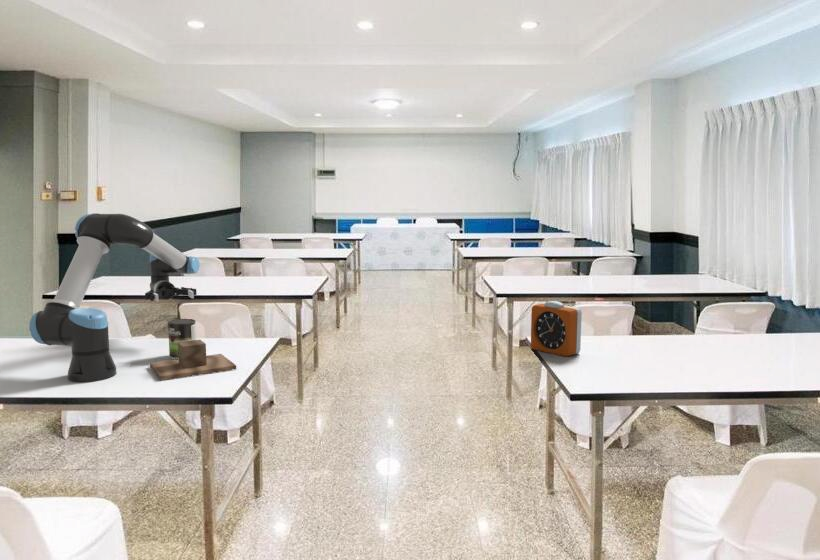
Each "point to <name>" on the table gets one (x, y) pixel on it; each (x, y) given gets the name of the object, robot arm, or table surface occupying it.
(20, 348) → the table surface
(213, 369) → the plinth
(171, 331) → the lidded glass jar
